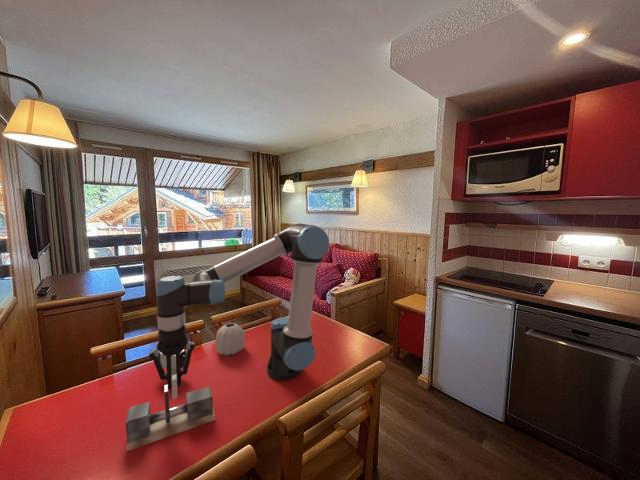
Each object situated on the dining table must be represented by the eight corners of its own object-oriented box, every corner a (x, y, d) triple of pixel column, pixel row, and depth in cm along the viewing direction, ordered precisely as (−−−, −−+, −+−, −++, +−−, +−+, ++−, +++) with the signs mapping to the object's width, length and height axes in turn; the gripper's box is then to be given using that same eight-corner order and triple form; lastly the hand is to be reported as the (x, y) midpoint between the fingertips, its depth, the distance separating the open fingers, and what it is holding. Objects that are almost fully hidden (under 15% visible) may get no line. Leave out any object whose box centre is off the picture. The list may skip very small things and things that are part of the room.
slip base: (211, 402, 96) (210, 381, 95) (215, 419, 88) (214, 397, 87) (130, 428, 84) (128, 404, 83) (126, 451, 76) (124, 425, 75)
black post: (195, 406, 91) (194, 376, 90) (197, 416, 87) (195, 384, 86) (147, 422, 84) (145, 389, 83) (146, 433, 80) (144, 398, 79)
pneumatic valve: (182, 381, 107) (180, 353, 106) (157, 377, 109) (155, 350, 108) (191, 373, 112) (190, 346, 111) (167, 369, 115) (166, 343, 113)
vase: (249, 353, 129) (248, 326, 128) (219, 362, 121) (218, 334, 120) (240, 341, 140) (239, 317, 139) (212, 348, 133) (211, 323, 131)
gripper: (194, 318, 89) (196, 383, 92) (148, 325, 83) (151, 395, 85) (196, 326, 83) (198, 396, 85) (146, 335, 76) (150, 411, 79)
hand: (174, 396), depth 85 cm, fingers closed
